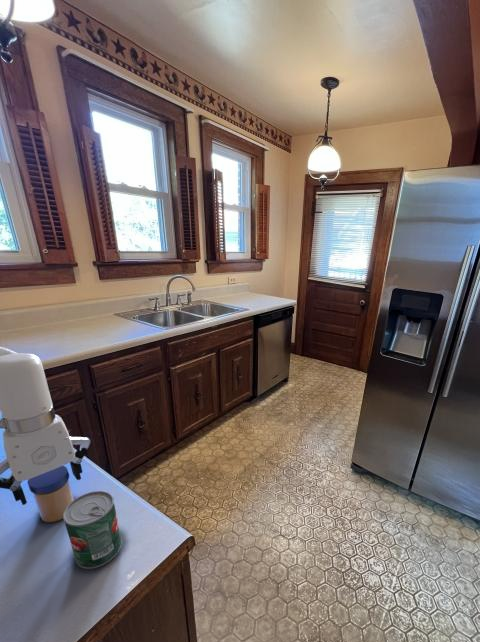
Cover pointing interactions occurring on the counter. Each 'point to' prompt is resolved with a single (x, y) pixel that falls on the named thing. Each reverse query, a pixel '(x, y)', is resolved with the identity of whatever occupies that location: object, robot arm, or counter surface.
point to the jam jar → (54, 503)
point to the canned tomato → (93, 529)
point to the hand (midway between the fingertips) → (51, 488)
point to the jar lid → (49, 481)
